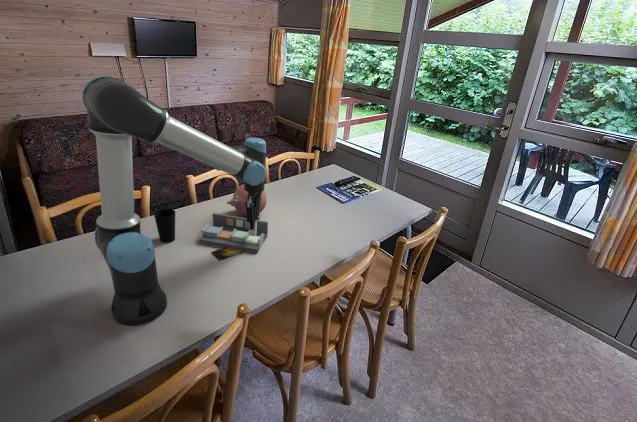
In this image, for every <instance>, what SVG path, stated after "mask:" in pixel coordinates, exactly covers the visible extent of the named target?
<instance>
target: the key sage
mask: <svg viewBox="0 0 637 422" xmlns="http://www.w3.org/2000/svg"><path fill="white" fill-rule="evenodd" d="M246 234H247V232H243V231H237V230H236V232H235V233H234V234H233V235H232V240H233V241H235V242H244V237H245V235H246Z"/></svg>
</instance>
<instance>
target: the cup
mask: <svg viewBox="0 0 637 422" xmlns="http://www.w3.org/2000/svg"><path fill="white" fill-rule="evenodd" d="M153 216H154V220H155V224H156V228H157V233H158V237H159V241H160V243H163V244H169V243H173V242H175V240H176V211H175V210H174V209H172V208H161V209H160V208H159V209H158V210H156V211H154V213H153Z"/></svg>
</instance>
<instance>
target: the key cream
mask: <svg viewBox="0 0 637 422" xmlns="http://www.w3.org/2000/svg"><path fill="white" fill-rule="evenodd" d="M259 238H260V237H258V236H249V237H248V239H247V240H246V243H247V244H253V245H258V239H259Z"/></svg>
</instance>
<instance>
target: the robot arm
mask: <svg viewBox="0 0 637 422" xmlns="http://www.w3.org/2000/svg"><path fill="white" fill-rule="evenodd" d="M82 103H83V105H84V107H85V108H86V114H87V116H86V117H87V124H88V125H87V127H88V131H90V132H91V133H92V134H93V135H94V136H95V143H96V155H97V169H98V171H97V172H98V182H99V183H98V184H99V193H100V194H99V195H100V208H101V209H100V210H101V215H99V216H98V217H97V218H96V228H95V231H94V241H95V245H96V247H97V248H98V250H99V252H100V253H101V255H102V258H103V260H104V261H105V264H106V265H107V266H108V269H109V272H110V276H111V281H112V286H113V290H114V292H113V297H112V302H111V306H110V307H111V308H110V311H111V316H112V319H113V320H114V321H115V323H118V324H120V325H122V326H128V327H129V326H130V327H134V326H141V325H145V324H149V323H150V322H153V321H155V320H157V319H158V318H159V317H160V316H162V315H163V313H164V312H165V311H166V309H167V308H168V307H167V306H168V300H167V295H166V293H165V292H164V290H163V288H162V287H161V285H160V283H159V280H158V279H159V278H158V269H157V261H156V250H155V246H154V244H153V241H152V240H151V238H150V237H148V235H146V234H144V233H141V231H142V230H141V217H140V215H138V214H137V213H135V196H134V195H135V194H134V170H133V169H134V168H133V167H134V166H133V164H134V163H133V141H132V140H133V139H132V137H133V138H136V139H139V140H141V141H143V142H146V143H147V144H148V143H149V144H153V143H158V144H160V145H162V146H165V147H167V148H170V149H171V150H174V151H177V152H178V153H181V154H182V155H186V156H188V157H190V158H192V159H194V160H197V161H199V162H201V163H203V164H205V165H208V166H209V167H213V168H214V169H215V170H216V171H222V172H224V173H226V174H229V175H230V176H233V177H235V178H237V179H240V180H241V181H243V184H244V190H245V191H247V192H248V193H249V194H248V196H247V199H248V202H246V203H245V206H246V214H247V216H246V218H247V222H249V235H250V236H256V233H257V220H260V217H259V216H260V213H259V210H260V202H261V195H262V191H264V190H265V184H266V183H265V178H266V177H267V170H266V157H267V142H266V141H265V140H264V139H262V138H259V137H248V138H246V139H245V141H244V145H238V146H237V145H235V146H229V145H226V144H224V143H223V142H221V141H219V140H217V139H215V138H213V137H211V136H209V135H207V134H205V133H203V132H202V131H199V130H198V129H196V128H193V127H192V126H190V125H187V124H186V123H184V122H183V121H180V120H178V119H177V118H174V117H173V116H171V115H169V113H168V111H167V109H165V108H163V107H161V106H159V105H158V104H156V103H155V102H153V101H152V100H151V99H149V98H147V97H146V96H145V95H143V94H142V93H140V91H138V90H137V89H136V88H134V87H133V86H131V85H129V84H127V83H126V82H125V81H124V80H122V79H120V78H118V77H113V76H108V75H100V76H99V75H98V76H96V77H93V78H92V79H90V80H89V81H87V83H86V84H85V85H84V88H83V90H82ZM264 192H265V191H264Z"/></svg>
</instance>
